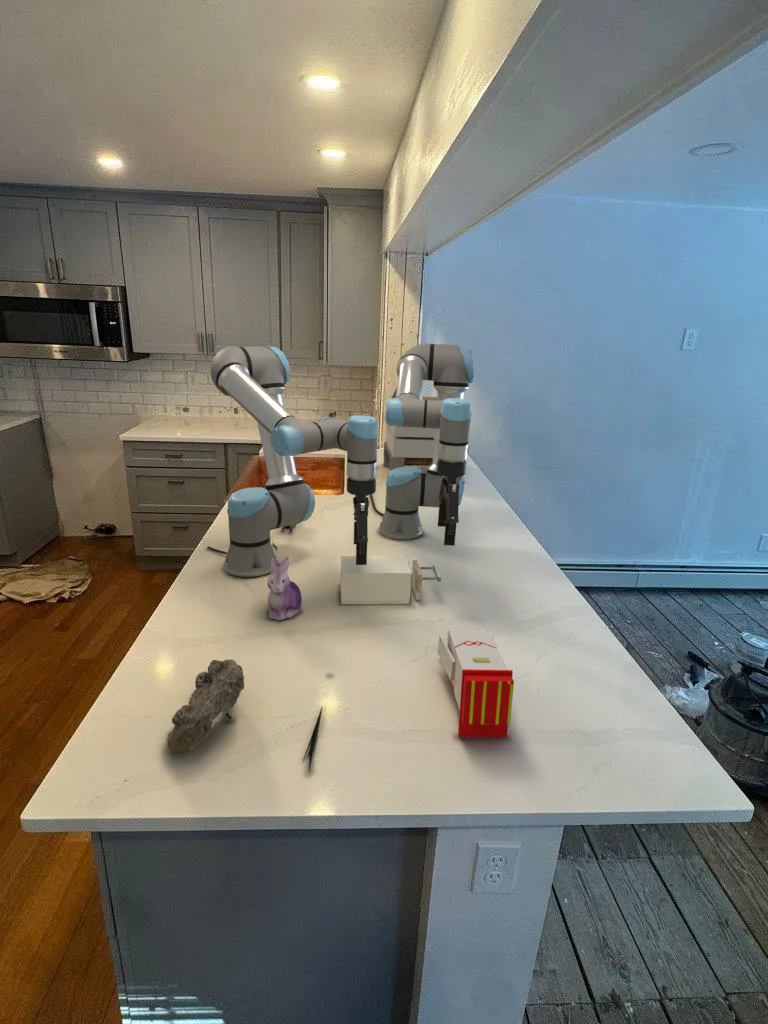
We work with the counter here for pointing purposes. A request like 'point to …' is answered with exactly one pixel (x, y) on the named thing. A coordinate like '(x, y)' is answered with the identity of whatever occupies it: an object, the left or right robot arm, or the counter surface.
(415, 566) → the drawer
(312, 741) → the feather
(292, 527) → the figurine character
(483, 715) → the toy
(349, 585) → the cabinet
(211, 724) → the fossil
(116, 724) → the counter surface
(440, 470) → the right robot arm
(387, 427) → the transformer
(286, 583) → the figurine
